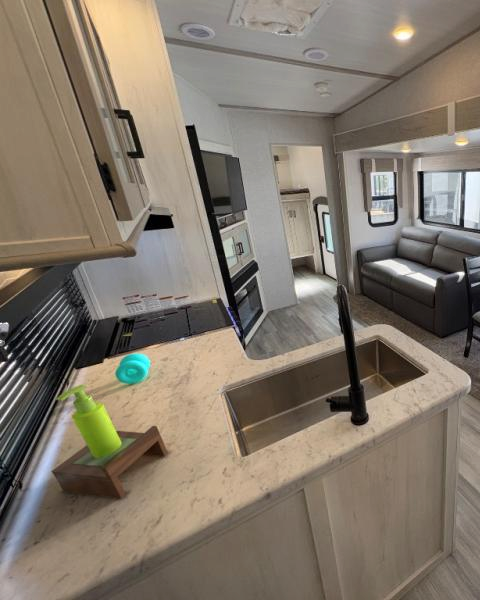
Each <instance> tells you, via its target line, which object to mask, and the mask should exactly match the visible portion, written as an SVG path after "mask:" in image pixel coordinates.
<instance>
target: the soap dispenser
mask: <svg viewBox="0 0 480 600" xmlns="http://www.w3.org/2000/svg"><path fill="white" fill-rule="evenodd" d="M86 388H88V387H87V385H85V384H79V385H76V386H74V387H72V388H70V389H67V390H66V391H65V392H63V393H61V394H60V395H58V396H57V397H56V398H55V399H54V400H56V401H64V400H66V399H67V398H69V397H70V396H72V395H74V397H75V399H74V400H73V402H72V404H73V406H74V407H75V412H73V414H72V415H71V418H72V420H73V421H74V423H75V426H76V427H77V429H78V431H79V433H80V434H81V436H82V438H83V440H84V442H85V444H86V446H88V448H89V449H90V451H91V453H92V455H93V457H95V458H101V457H104V456H107V455H109V454H111V453H113V452H114V451H116V450H117V449H118V448H119V447H120V446H121V444H122V442H121V440H120V438H119V436H118V434H117V432H116V431H117V430H116V428H115V426H114V424H113V422H112V420H111V418H110V415H109V414H108V412H107V410H106V407H105V406H104V403H102V402H95V401H94V399H93V397H92V395H91V394H86V393H85V391H84V390H85V389H86Z"/></svg>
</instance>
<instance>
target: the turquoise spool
mask: <svg viewBox="0 0 480 600" xmlns="http://www.w3.org/2000/svg"><path fill="white" fill-rule="evenodd" d="M150 367H151V360H150V359H149V358H148V356H147V355H145V354H143V353H131V354H130V353H129V354H127V355H126V356H124V357H122V359H121V360H120V362H119V363H118V366H117V368H116V370H115V375H114V376H115V378H116V380H118V381H119V383H122V384H126V385H133V384H137V383H140V382H141V381H144V379H145V378H146V377H147V375H148V372H149V368H150Z"/></svg>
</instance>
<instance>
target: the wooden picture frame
mask: <svg viewBox="0 0 480 600" xmlns="http://www.w3.org/2000/svg"><path fill="white" fill-rule="evenodd" d="M116 432H117V434H118V436H119V438H120V440H121V442H122V444H121V446H120V447H119V448H118V449H117V450H116V451H114V452H113V453H111V454H109V455H107V456H104V457H101V458H95V457H93V455H92V453H91V451H90V449H89V448H88V446H87V445H85V446H84V447H82V448H81V449H80V450H78V451H77V452H75V453H74V454H72V456H70V457H69V458H67V459H66V460H65V461H63V462H61V464H59V465H57V466H56V467H55V468H53V469H52V470H51V473H52V474H53V476H54V478H55V480H56V481H57V483H58V484H59V486H60V487H61V490H62V491H63V492H67V493H76V494H84V495H90V496H91V495H93V496H100V497H107V498H117V499H122V498H123V497H124V496H126V494H127V493H126V491H125V489H124V487H123V485H122V484H121V481H120V480H119V478H118V476H120V475H121V474H122V473H123V472H124V471H125V470H126V469H128V468H129V467H130V466H131V465H132V464H133V463H134V462H135V461H136V460H138V459H139V458H140V457H141V456H142V455H146V456H155V457H166V456H167V455H168V454H169V452H168V450H167V447H166V445H165V443H164V442H165V441H164V440H163V438H162V436H161V433H160V431H159V429H158V426H157V425H152V426H151V427H150V428H148V429H147V430H146V431H144V432H135V431H123V430H116Z"/></svg>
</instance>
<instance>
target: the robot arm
mask: <svg viewBox="0 0 480 600" xmlns="http://www.w3.org/2000/svg"><path fill="white" fill-rule="evenodd" d="M9 329H10V323H9V322H0V363H7V362H9V361H10V359H9V353H8V352H7V350H6V348H5V346H4V345H5V344H6V342H5V341H6V339H7V338H8V336H9Z"/></svg>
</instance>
